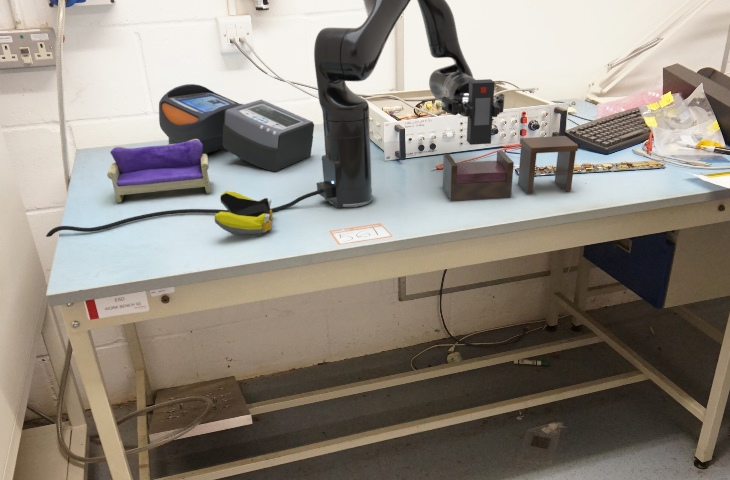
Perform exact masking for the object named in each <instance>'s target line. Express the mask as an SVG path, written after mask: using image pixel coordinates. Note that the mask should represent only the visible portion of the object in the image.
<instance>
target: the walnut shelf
mask: <svg viewBox="0 0 730 480" xmlns="http://www.w3.org/2000/svg"><path fill="white" fill-rule="evenodd" d="M519 144H520V155H519V164H518V165H519V166H518V167H519V168H518V176H517V177H518V178H517V185H518V186H519V187H520V188H521V189H522V190H523V192H525V194H526V195H533V194H534V183H535V173H536V165H537V154H547V153H549V154H550V153H557V157H556V164H555V165H556V166H555V175H554V183H555V184H556V185H557V186H558V187H559V188H560V189H562V191H564V192H565V193H570V192H571V191H572V184H573V176H574V169H575V168H574V167H575V162H576V154H577V152H578V151H579V145H578V144H577V143H575V142H574V141H573V140H571V139H570V138H569V137H568V136H566V135H555V136H537V137H536V136H535V137H534V136H533V137H520V138H519Z"/></svg>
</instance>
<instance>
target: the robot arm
mask: <svg viewBox="0 0 730 480" xmlns="http://www.w3.org/2000/svg"><path fill="white" fill-rule="evenodd" d="M411 1H412V0H363V5H364V9H365V14H366V16H367V17H366V18H365V20H364V22H363V23H362V24H361V25H360V26H358V27H325V28H322V29H321V30H319V32H318V33H317V35H316V37H315V40H314V48H313V61H314V71H315V78H316V86H317V95H318V103H319V105H320V109H321V112H322V123H323V124H322V125H323V138H324V151H325V152H324V153H325V155H322V156H321V164H322V176H323V177H322V178H323V181H319V182H316V190H314V191H311V192H308V193H306V194H303V195H302V196H298V197H297V198H296V199H294V200H292V201H290V202H288V203H286V204H282V205H280V206H275V207H273V208H271V210H272V213H275V212H279V211H282V210H285V209H287V208H291V207H293V206H294V205H296V204H298V203H300V202H301V201H304V200H306V199H308V198H311V197H314V196H317V195H319V196H320V197H321V198H324V201H325V202H326V203H329V204H330V205H332V206H333V207H335V208H336V209H341V208H359V207H362V206H366V205H368V204H371V203H372V202H373V199H374V198H373V187H372V186H373V185H372V184H373V183H372V163H371V162H372V155H371V132H370V131H371V129H370V126H371V125H370V106H369V103H368V102H369V101H367V100H366V99H365V98H363V97H361V96H359V95H358V94H356V93H355V92H353V91H352V90H351V88H349V86H348V85H347V83H346V82H353V83H354V82H356V83H357V82H362V81H363V82H364V81H365V80H367V79H368V78H369V77H370V76H371V75H372V74H373V72H374V70H375V68H376V66H377V65H378V62H379V60H380V59H381V58H380V57H381V55H382V53H383V51H384V49H385V46H386V44H387V41H388V40H389V37H390V36H391V33H392V32H393V30H394V28H395V27H396V25H397V23H398V21H399V20H400V18H401V16H402V15H403V13H404V12H405V10H406V9H407V7H408V6H409V4H410V3H411ZM416 1H417V4H418V7H419V11H420V13H421V18H422V21H423V25H424V30H425V35H426V39H427V44H428V49H429V53H430V55H431V57H432V58H435V59H444V58H445V59H447V58H449V59H451V60H452V61H453V64H450V65H447V66H443V67H440V68H438V69H435V70H433V71H432V73H430V76H429V79H428V87H429V91H430V93H431V94H432V95H433V97H434V98H435V99H436V100H437V101H440V102H441V111H443V112H445V113H448V114H451V115H452V116H458V114H459V115H460V116H462V117H465V118H467V119H468V118H473V107H472V106H471V105H470V104H469V103H468V98H469V80H476V79H475V78H474V74H473V72H472V69H471V68H470V65H469V64H468V62H467V60H466V58H465V56H464V54H463V50H462V48H461V44H460V41H459V36H458V31H457V25H456V20H455V17H454V16H455V15H454V14H453V11H452V9H451V7H450V5H449V3H448V2H447V0H416ZM504 108H505V94H503V93H500V94H498V95H496V96H495V97H494V101H493V115H492V116H493V117H492V118H497V117H498V115H500V114H501V113H504ZM219 212H229V211H228V210H227V209H216V208H183V209H182V208H181V209H170V210H163V211H162V210H161V211H157V212H155V211H154V212H150V213H145V214H142V215H136V216H132V217H131V216H130V217H127V218H123V219H120V220H118V221H114V222H110V223H107V224H104V225H99V226H93V227H80V226H72V225H59V226H56V227H53V228H52V229H50V230H49V231H48V232H47V234H46V235H45V237H46V238H50V237H52V236H53V235H55V234H56V233H57V232H61V231H74V232H82V233H83V232H84V233H92V232H98V231H99V232H100V231H103V230H107V229H111V228H115V227H117V226H121V225H125V224H127V223H131V222H135V221H140V220H144V219H145V220H146V219H150V218H155V217H161V216H169V215H178V214H217V213H219Z"/></svg>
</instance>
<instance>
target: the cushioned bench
mask: <svg viewBox="0 0 730 480" xmlns="http://www.w3.org/2000/svg"><path fill="white" fill-rule="evenodd" d="M442 157H443V158H442V159H443V160H442V189H443V190H444V192H445V194H446V196H447V198H448V200H449V201H450V202H455V201H456V202H457V201H458V202H459V201H475V200H490V199H491V200H493V199H506V198H507V199H508V198H512V188H513V179H514V178H513V177H514V166H515V165H514V164H515V163H514V161H513V160H512V158H510V157H509V156H508V155H507V154H506V152H505V151H503V150H497V151H496V160H480V161H479V160H478V161H464V162H463V161H462V162H456V161H455V160H454V159H453V156H451V154H450V153H443V156H442Z"/></svg>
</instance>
